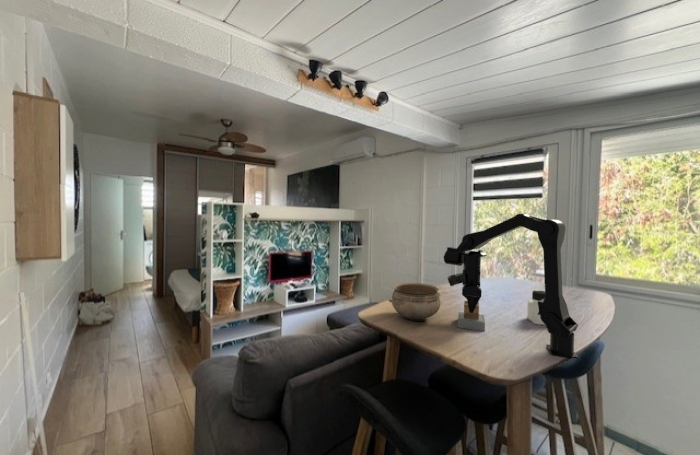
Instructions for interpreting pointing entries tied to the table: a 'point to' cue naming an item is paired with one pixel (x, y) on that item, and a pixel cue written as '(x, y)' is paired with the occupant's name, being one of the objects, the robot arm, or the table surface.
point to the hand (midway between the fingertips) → (471, 309)
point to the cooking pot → (415, 300)
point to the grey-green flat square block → (471, 322)
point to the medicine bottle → (535, 307)
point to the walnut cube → (471, 315)
